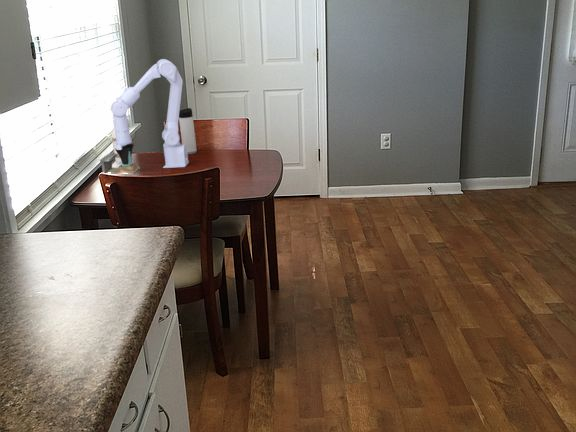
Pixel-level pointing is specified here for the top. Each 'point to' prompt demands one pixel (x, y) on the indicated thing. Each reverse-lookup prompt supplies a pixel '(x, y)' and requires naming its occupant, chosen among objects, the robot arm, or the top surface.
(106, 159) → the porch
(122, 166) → the peg
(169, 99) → the robot arm
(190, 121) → the travel mug
